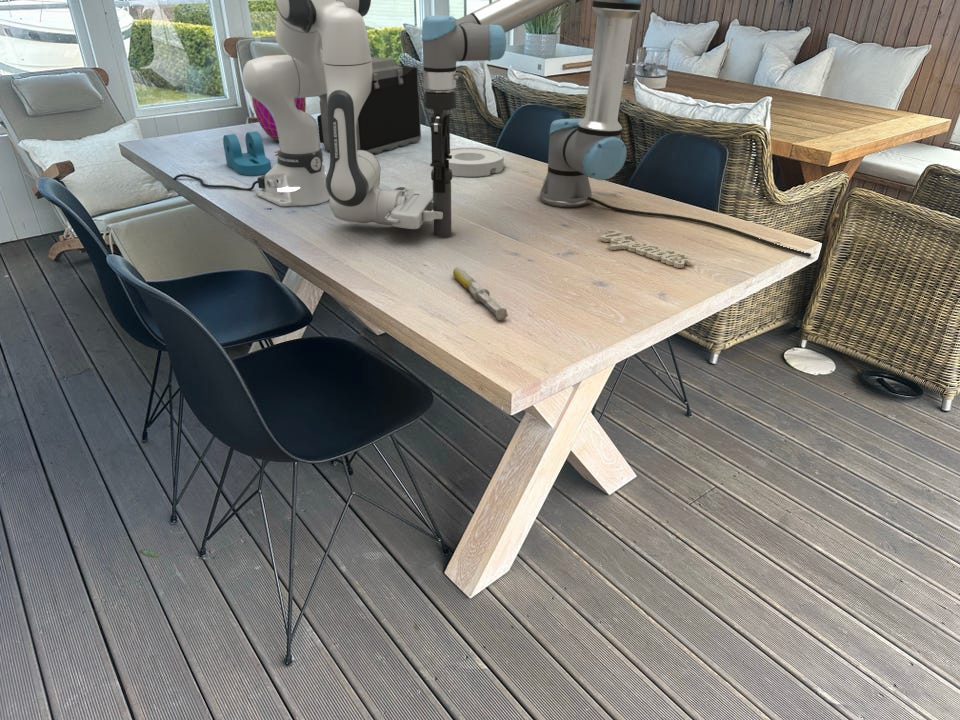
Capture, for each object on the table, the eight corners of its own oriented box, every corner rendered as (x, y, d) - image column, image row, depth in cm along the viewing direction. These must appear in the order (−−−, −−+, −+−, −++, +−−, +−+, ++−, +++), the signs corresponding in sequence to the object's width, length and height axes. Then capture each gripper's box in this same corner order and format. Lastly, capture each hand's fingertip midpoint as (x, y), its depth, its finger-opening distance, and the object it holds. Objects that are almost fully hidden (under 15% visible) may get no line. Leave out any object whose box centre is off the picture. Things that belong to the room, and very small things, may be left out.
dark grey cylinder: (447, 230, 180) (446, 170, 172) (454, 236, 176) (453, 175, 168) (431, 232, 178) (429, 172, 170) (437, 238, 175) (436, 177, 167)
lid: (427, 178, 170) (426, 170, 169) (443, 175, 173) (443, 166, 172) (440, 183, 167) (439, 174, 166) (456, 179, 170) (456, 170, 169)
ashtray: (438, 158, 243) (438, 146, 241) (503, 159, 243) (503, 147, 241) (432, 176, 223) (431, 163, 221) (503, 177, 223) (503, 165, 221)
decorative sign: (586, 237, 174) (611, 228, 179) (586, 240, 174) (611, 231, 180) (674, 268, 157) (698, 257, 162) (673, 272, 157) (698, 261, 163)
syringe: (449, 274, 155) (449, 263, 153) (465, 272, 156) (464, 260, 154) (490, 323, 135) (491, 310, 133) (508, 319, 136) (508, 307, 134)
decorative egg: (293, 132, 276) (283, 50, 261) (319, 140, 264) (310, 56, 249) (249, 139, 265) (236, 54, 250) (273, 148, 253) (261, 60, 238)
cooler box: (383, 133, 276) (378, 52, 261) (425, 141, 265) (422, 56, 250) (314, 150, 251) (304, 61, 235) (358, 160, 240) (350, 67, 224)
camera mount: (227, 164, 233) (221, 132, 227) (257, 160, 238) (252, 129, 233) (244, 176, 220) (239, 143, 215) (276, 172, 225) (271, 139, 220)
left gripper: (380, 208, 166) (436, 212, 164) (402, 184, 183) (453, 187, 181) (382, 233, 169) (436, 237, 167) (403, 207, 186) (453, 210, 184)
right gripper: (449, 97, 151) (450, 200, 163) (461, 84, 167) (461, 179, 179) (416, 96, 152) (419, 199, 164) (431, 83, 168) (433, 178, 179)
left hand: (445, 211), depth 174 cm, fingers closed on dark grey cylinder, 4 cm apart
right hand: (441, 188), depth 171 cm, fingers closed on lid, 5 cm apart
